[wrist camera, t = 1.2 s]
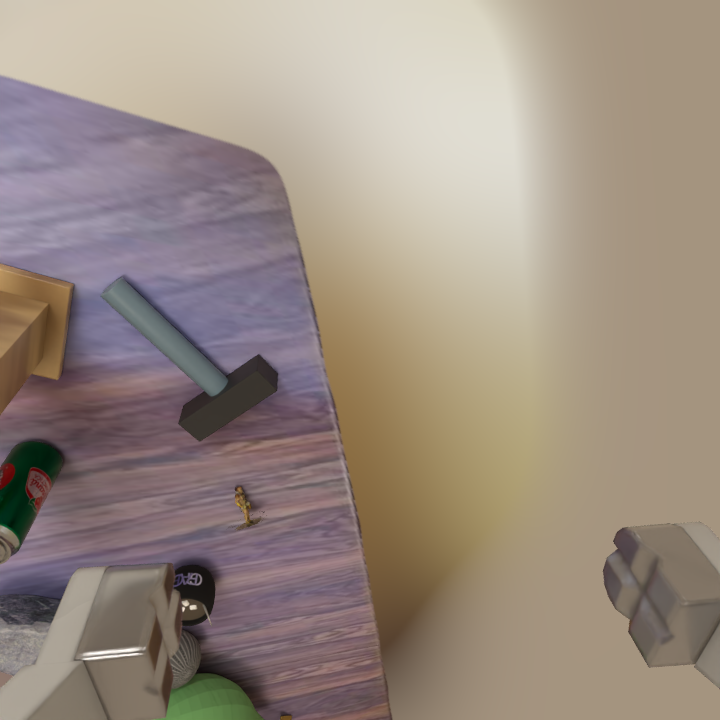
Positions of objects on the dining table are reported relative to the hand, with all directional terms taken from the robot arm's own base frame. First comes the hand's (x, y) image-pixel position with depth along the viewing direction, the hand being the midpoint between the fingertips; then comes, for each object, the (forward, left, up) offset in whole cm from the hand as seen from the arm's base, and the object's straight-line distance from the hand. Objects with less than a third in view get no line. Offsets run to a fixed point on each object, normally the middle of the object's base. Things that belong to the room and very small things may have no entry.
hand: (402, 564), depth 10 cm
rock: (+58, +22, -31) cm, 69 cm away
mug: (+46, +30, -40) cm, 68 cm away
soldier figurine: (+30, +27, -37) cm, 55 cm away
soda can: (+42, +7, -40) cm, 59 cm away
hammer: (+21, +7, -40) cm, 46 cm away
